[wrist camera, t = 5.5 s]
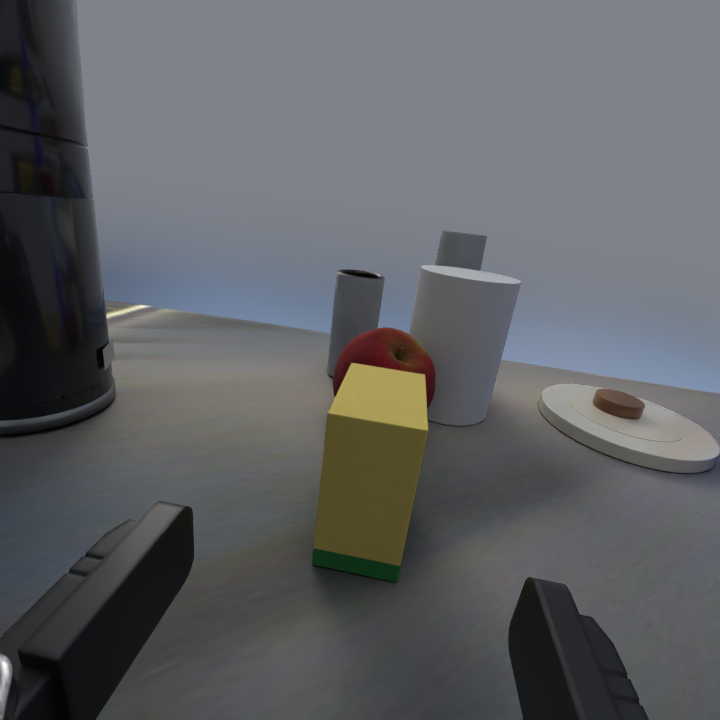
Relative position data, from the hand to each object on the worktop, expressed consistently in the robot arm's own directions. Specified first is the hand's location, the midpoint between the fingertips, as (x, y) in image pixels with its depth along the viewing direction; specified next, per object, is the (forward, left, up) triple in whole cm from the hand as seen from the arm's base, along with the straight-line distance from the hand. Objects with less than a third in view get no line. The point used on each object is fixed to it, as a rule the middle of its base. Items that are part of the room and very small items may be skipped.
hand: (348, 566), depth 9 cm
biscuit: (+10, +35, -6) cm, 37 cm away
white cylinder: (-4, +27, -8) cm, 28 cm away
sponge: (-3, +9, -8) cm, 12 cm away
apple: (-7, +19, -8) cm, 22 cm away
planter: (-14, +27, -8) cm, 31 cm away
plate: (+11, +34, -8) cm, 36 cm away
